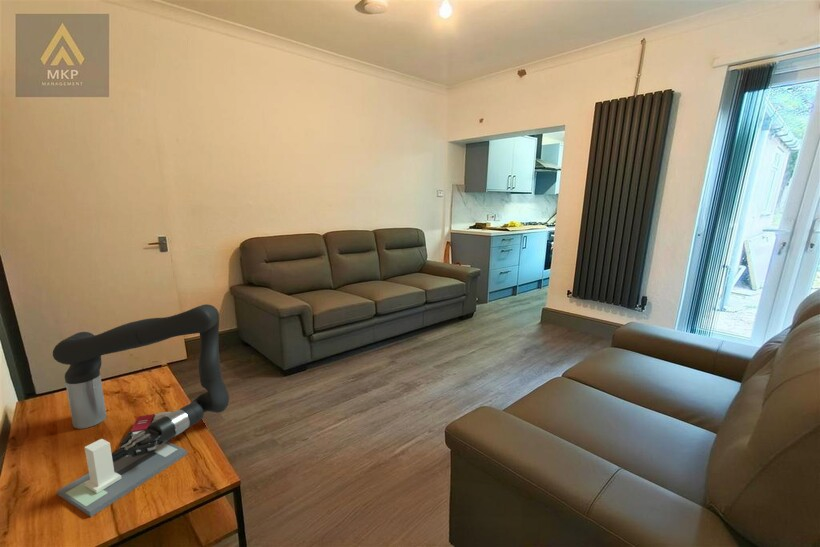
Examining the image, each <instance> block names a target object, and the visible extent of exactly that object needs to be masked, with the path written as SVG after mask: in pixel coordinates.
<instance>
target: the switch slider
mask: <svg viewBox="0 0 820 547" xmlns="http://www.w3.org/2000/svg"><path fill="white" fill-rule="evenodd" d="M84 452H85V457H86V463H87V469H88V470H87V471H88V473H89V476H90V480H88V481H86V482H85V483H84V485H85V486H86V487H87V488H89V489H90V490H92V491H94V492H95V493H98V492H100V491H102V490H103V489H105V488H107V487H108V486H110V485H112V484H113V483H115V482H116V481H118V480H120V479H121V475H119V474H118V473H116V472H114V466H113V460H112V453H113V452H112V449H111V442H109V441H107V440H106V439H103V438H100V439H98V440H95V441H94V442H92V443H90V444H88V445H86V446H84Z"/></svg>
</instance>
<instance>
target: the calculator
mask: <svg viewBox="0 0 820 547" xmlns="http://www.w3.org/2000/svg"><path fill="white" fill-rule="evenodd" d="M172 412H173V411H171V410H170V411H164V412H163V411H162V412H158V413H155V414H154V413H152V414H146V415H140V416H138V417H137V418H136V420H135V422H134V423H133V425H132V427H131V429H130V431H129V432H133V434H138V433H139V432H140V431H143V430H146V429H147V428H148V426H149V425H150V424H151V423H152V422H154V421H156V420H158V419H160V418H162V417H164V416H166V415H168V414H170V413H172Z"/></svg>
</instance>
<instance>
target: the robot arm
mask: <svg viewBox="0 0 820 547" xmlns="http://www.w3.org/2000/svg"><path fill="white" fill-rule="evenodd" d="M219 329H220V312H219V310H218V309H217V307H216V306H214V305H212V304H208V303H207V304H201V305H198V306H196V307H193V308H190V309H189V310H186V311H183V312H181V313H177V314H174V315H171V316H166V317H151V318H145V319H144V318H143V319H140V320H135V321H132V322H128V323H123V324H121V325H119V326H116V327H113V328H111V329H108V330H106V331H104V332H102V333H99V334H94V333H92V332H89V331H80V332H76V333H74V334H73V335H70V336H68V337H66V338H65V339H63V340H61V341H59V342H58V343H57V344H56V345H55V346H54V348H53V351H52V357H53V359H54V360H55V361H56V362H57V363H60V364H62V365H69V367H68V369H67V370H66V372H65V373H64V383H65V387H66V391H67V392H66V393H67V399H68V403H69V409H70V410H69V411H70V414H71V421H72V426H73V428H75V429H87V428H92V427H95V426H97V425H99V424H100V423H102V422H104V421H105V420H106V419H107V410H106V403H105V398H104V390H103V383H102V377H101V368H102V356H105V355H108V354H109V355H110V354H115V353H119V352H123V351H129V350H133V349H138V348H141V347H146V346H149V345H153V344H156V343H160V342H163V341H166V340H169V339H172V338H174V337H179V336H180V337H181V336H186V335H195V334H199V339H200V348H199V349H200V350H199V355H198V356H199V357H198V376H199V383H200V385H201V387H202V388H204V389H205V390H206V392H203V393H201V394H200V395H198V396H197V397H196V398H194V399H193V400H192V401H191V402H190V403H189V404H187V405H184V406H182V407H181V408H179V409H177V410H174V411H171V412H172V413H170V414H168V415H166V416H164V417H162V418H160V419H158V420H156V421H154V422H152V423H151V424H150V425H149V426H148V428H147V429H146V430H143V431H140V432H139V433H138V434H133V432H130V431H129V432H128V433H127V434H126V435H125V436H124V438H123V439H122V440H121V441H120V443H119V447H120V448H118V449H116V450H115V451H113V452H111V453H112V460H113V463H114V462H116V461H118V460H119V459H121V458H123V457H125V456H130V455H131V457H135V456H139V455H143V454H147V453H151V452H155V451H156V445H161V444H163V443H165V442H166V441H168V442H169V440H172V439H173V438H174V437H176V436H178V435H180V434H182V433H183V432H184V431H186V429H188V428H191V427H192V426H194V425H195V424H197V423H198V422H200V421H201V420H202V419H203V417H204V414H205V413H207V412H212V413H219V414H220V413H222V412H224V411H226V409H227V408H228V406H229V402H230V396H229V391H228V389H227V387H226V385H225V382H224V381H223V375H222V368H221V362H220V361H221V360H220V347H219V346H220V343H219V342H220V341H219V339H220V338H219V336H220V335H219V334H220V333H219V332H220V331H219Z"/></svg>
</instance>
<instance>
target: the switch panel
mask: <svg viewBox="0 0 820 547" xmlns="http://www.w3.org/2000/svg"><path fill="white" fill-rule="evenodd" d="M187 455H188V450H187V449H185V448H182V447H181V446H178V445H176V444H174V443H172V442H169V440H168V441H166V442H165V443H163V444H161V445H156V451H155V452H151V453H147V454H143V455H139V456H135V457H131V455H130V456H125V457H123V458H121V459H119V460H118V461H116V462H114V463H113V466H114V472H116V473H118V474H119V475H121V479H120V480H118V481H116V482H115V483H113V484H112V485H110V486H108V487H107V488H105V489H103V490H102V491H100V492H98V493H95V492H94V491H92V490H90V489H89V488H87V487H86V486H85V485H84V483H85V482H86V481H88V480H90V476H89V472H87V473H86V474H85V475H82V476H80V477H79V478H77V479H75V480H74V481H72V482H71V483H70V482H69V483H68V484H67V485H65V486H63V487H61V488H60V489H59V488H58V490H57V492H56V493H57V496H58V497H61V498H62V499H64V500H65V501H66V502H68V503H69V504H70V505H72V506H74V507H75V508H77V509H78V510H80V511H81V512H83V513H84V514H85V515H87V516H89V517H90V518H92V517H93V516H95V515H97V514H98V513H100V512H101V511H103V510H104V509H106V508H107V507H109V506H111V505H112V504H114V503H115V502H117V501H118V500H119V499H121V498H123V497H124V496H126V495H127V494H129V493H131V492H132V491H134V490H135V489H137V488H138V487H139V486H142V484H144V483H146V482H147V481H148V480H150V479H152V478H153V477H155V476H157V475H158V474H160V473H161V472H163V471H165V470H167V468H168V467H170V466H172V465H174V464H175V463H177V462H178V461H180V460H181V459H183V458H184V457H185V456H187Z"/></svg>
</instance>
